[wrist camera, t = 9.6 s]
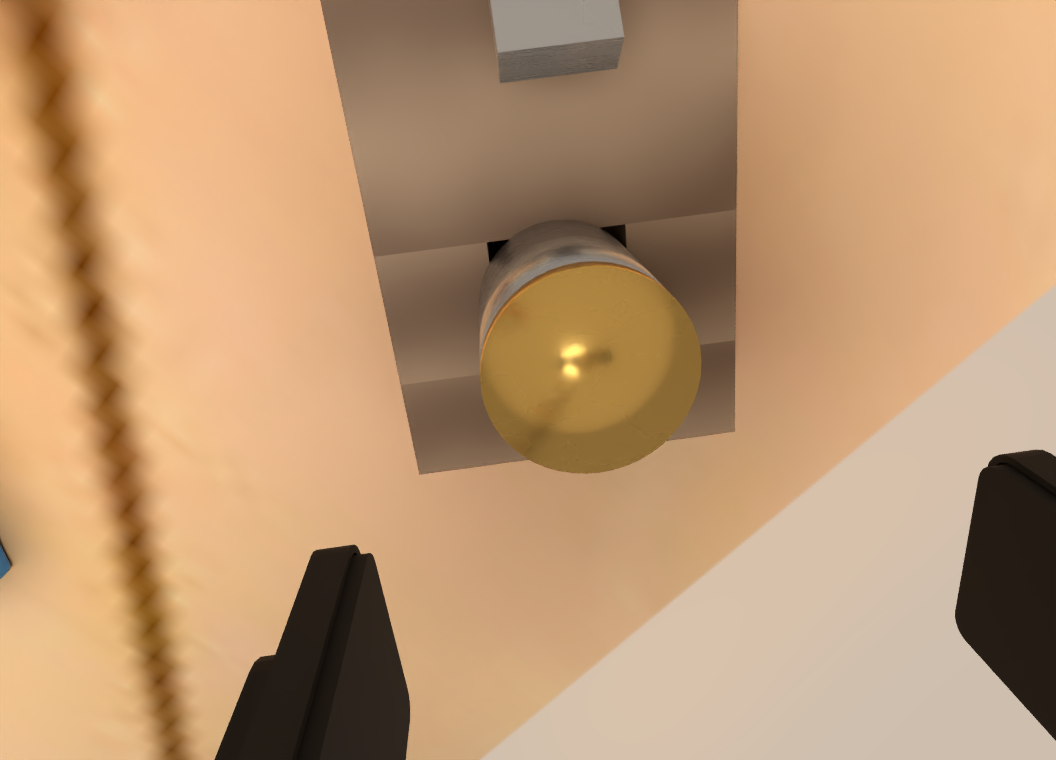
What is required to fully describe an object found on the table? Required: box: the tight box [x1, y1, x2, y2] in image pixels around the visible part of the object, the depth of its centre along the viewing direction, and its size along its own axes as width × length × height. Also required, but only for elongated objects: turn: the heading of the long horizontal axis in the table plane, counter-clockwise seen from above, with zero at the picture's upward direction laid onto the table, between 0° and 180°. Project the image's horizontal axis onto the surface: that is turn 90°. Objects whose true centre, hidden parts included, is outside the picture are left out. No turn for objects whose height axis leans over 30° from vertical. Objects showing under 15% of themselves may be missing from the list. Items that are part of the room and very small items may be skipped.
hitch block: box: [320, 0, 738, 474], centre depth 22 cm, size 22×12×8 cm, turn 7°
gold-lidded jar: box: [479, 220, 701, 473], centre depth 22 cm, size 6×6×12 cm
